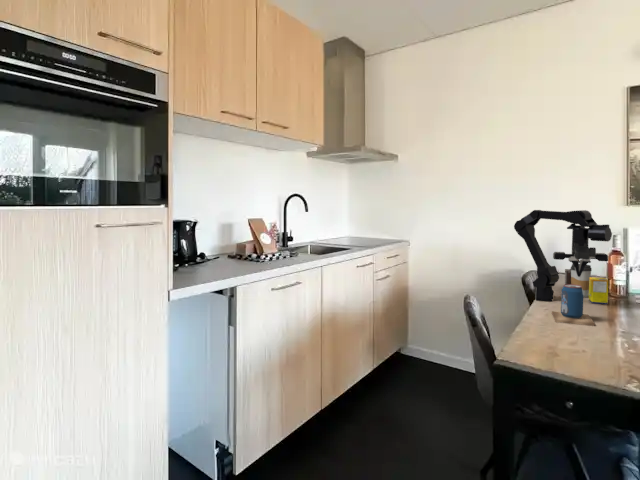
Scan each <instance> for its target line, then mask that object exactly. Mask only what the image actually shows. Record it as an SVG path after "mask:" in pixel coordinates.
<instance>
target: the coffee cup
mask: <svg viewBox="0 0 640 480" xmlns="http://www.w3.org/2000/svg"><path fill="white" fill-rule="evenodd" d="M578 266H580V263H579V264H578ZM591 266H592V265H589V264H586V266H585V267H584V269H583V271H582V274H581V276H580V277H578V276H577V273H576V270H575V268H574V265H573V263H571V266H570V269H571V284H574V285H580V286H582V289H583V291H584V296H583V299H585V298H587V299H588V297H589V277H591V275H592V267H591Z"/></svg>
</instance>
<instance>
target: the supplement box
mask: <svg viewBox="0 0 640 480" xmlns="http://www.w3.org/2000/svg"><path fill="white" fill-rule="evenodd" d="M608 300H609V279H608V278H606V277H589V293H588V302H589V303H591V304H594V305H595V304H597V305H608V302H609V301H608Z"/></svg>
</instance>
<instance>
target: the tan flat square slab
mask: <svg viewBox="0 0 640 480" xmlns="http://www.w3.org/2000/svg"><path fill="white" fill-rule="evenodd" d="M551 314H552V315H551V316H552V318H553V320H554V322H555V323H561V322H563V324H570V323H571V325H580V324H581V325H580V326H592V327H593V326H595V322H594V321H593V319H592V318H591V317H590V315H589V314H585V313H583V315H582V317H581V318H579V319H571V318H566V317H564V316H563V315H562V314H561V311H551Z"/></svg>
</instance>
